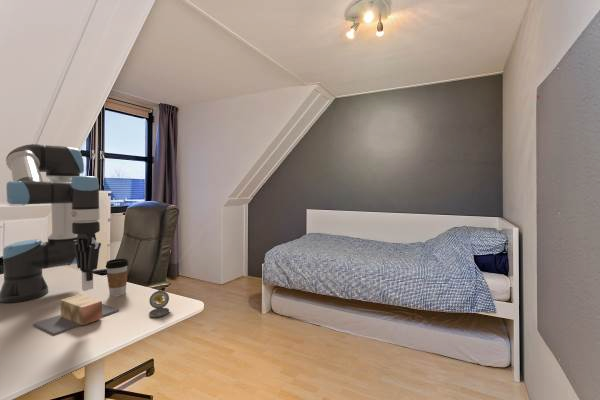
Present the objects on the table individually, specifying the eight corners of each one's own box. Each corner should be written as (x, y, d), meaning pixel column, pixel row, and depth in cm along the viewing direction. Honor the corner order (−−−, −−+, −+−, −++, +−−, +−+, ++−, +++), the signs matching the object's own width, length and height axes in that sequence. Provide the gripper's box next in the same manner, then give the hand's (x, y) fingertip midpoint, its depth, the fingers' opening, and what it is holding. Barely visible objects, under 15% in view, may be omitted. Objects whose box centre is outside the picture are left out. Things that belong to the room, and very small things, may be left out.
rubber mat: (33, 325, 95) (33, 323, 95) (98, 303, 113) (98, 302, 113) (53, 335, 88) (53, 333, 88) (119, 310, 106) (119, 309, 106)
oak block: (82, 325, 94) (61, 316, 100) (102, 317, 99) (80, 310, 105) (82, 307, 93) (60, 299, 100) (101, 301, 99) (80, 294, 105)
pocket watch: (155, 320, 99) (155, 292, 99) (142, 314, 104) (142, 287, 103) (176, 311, 106) (176, 285, 106) (163, 306, 110) (163, 281, 110)
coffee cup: (118, 298, 118) (117, 262, 118) (101, 296, 120) (100, 261, 119) (133, 291, 127) (133, 258, 126) (117, 289, 128) (117, 257, 128)
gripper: (63, 221, 96) (65, 289, 97) (84, 223, 90) (85, 296, 91) (87, 219, 102) (89, 283, 103) (108, 221, 97) (110, 289, 98)
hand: (87, 289), depth 97 cm, fingers closed
